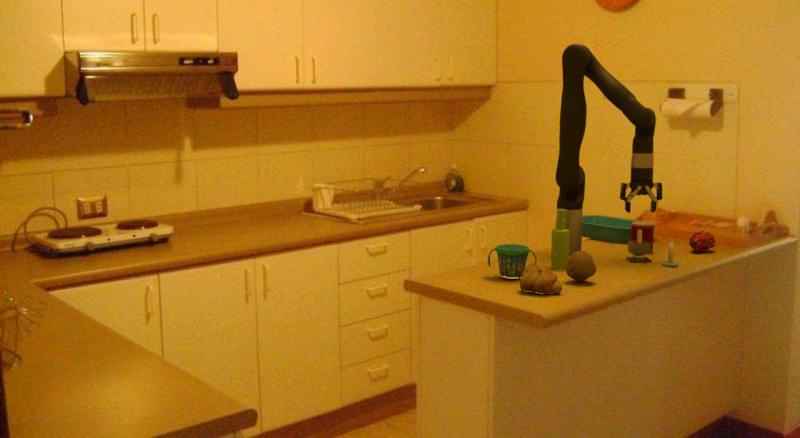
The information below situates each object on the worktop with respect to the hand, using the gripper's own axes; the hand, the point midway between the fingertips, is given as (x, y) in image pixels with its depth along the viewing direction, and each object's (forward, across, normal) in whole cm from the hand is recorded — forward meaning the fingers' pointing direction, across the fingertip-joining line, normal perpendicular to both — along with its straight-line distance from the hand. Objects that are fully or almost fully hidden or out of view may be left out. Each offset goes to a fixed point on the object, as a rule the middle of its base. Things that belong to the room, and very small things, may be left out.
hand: (640, 212), depth 296 cm
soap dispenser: (+17, -30, -9) cm, 36 cm away
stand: (+17, 0, 0) cm, 17 cm away
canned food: (+18, +6, +15) cm, 24 cm away
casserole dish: (+18, +4, +47) cm, 50 cm away
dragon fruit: (+18, +28, +14) cm, 36 cm away
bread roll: (+18, -44, -43) cm, 64 cm away
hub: (+17, +8, -9) cm, 21 cm away
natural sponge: (+17, -28, -31) cm, 45 cm away
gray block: (+14, 0, 0) cm, 14 cm away
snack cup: (+17, -49, -23) cm, 57 cm away
